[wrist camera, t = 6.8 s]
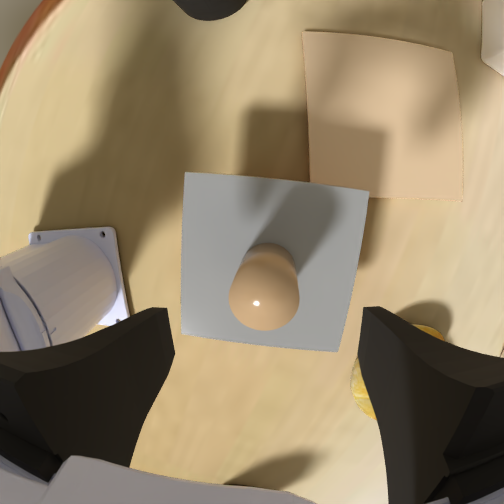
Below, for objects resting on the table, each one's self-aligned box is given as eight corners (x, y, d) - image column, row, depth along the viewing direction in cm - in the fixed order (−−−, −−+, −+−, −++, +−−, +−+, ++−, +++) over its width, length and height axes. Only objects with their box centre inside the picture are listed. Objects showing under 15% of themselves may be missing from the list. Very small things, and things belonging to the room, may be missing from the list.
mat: (310, 196, 19) (310, 196, 19) (301, 34, 16) (302, 31, 16) (458, 200, 18) (462, 201, 17) (449, 53, 15) (452, 52, 14)
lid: (185, 327, 18) (160, 370, 14) (189, 171, 15) (156, 174, 11) (335, 344, 17) (347, 392, 13) (365, 190, 15) (394, 199, 10)
